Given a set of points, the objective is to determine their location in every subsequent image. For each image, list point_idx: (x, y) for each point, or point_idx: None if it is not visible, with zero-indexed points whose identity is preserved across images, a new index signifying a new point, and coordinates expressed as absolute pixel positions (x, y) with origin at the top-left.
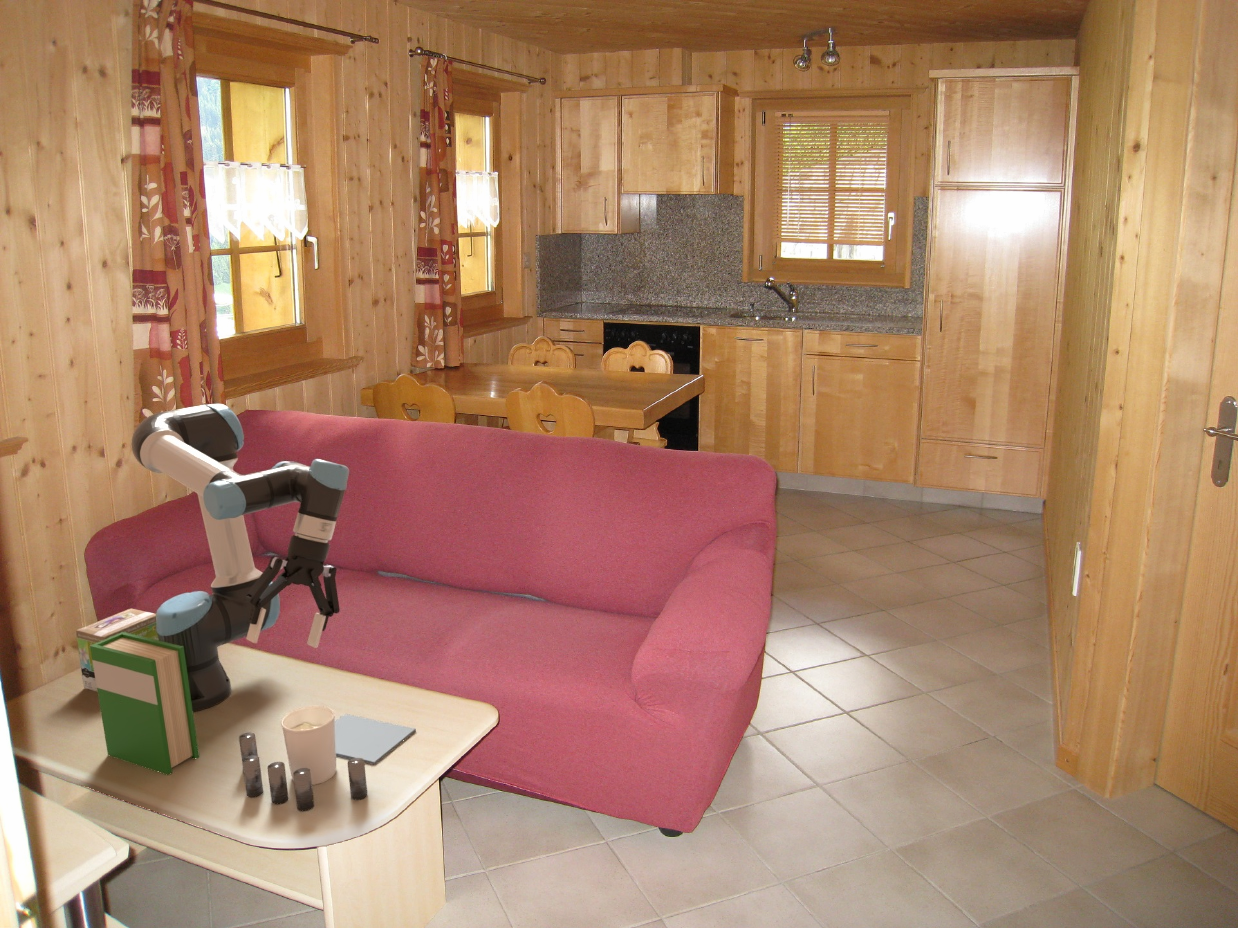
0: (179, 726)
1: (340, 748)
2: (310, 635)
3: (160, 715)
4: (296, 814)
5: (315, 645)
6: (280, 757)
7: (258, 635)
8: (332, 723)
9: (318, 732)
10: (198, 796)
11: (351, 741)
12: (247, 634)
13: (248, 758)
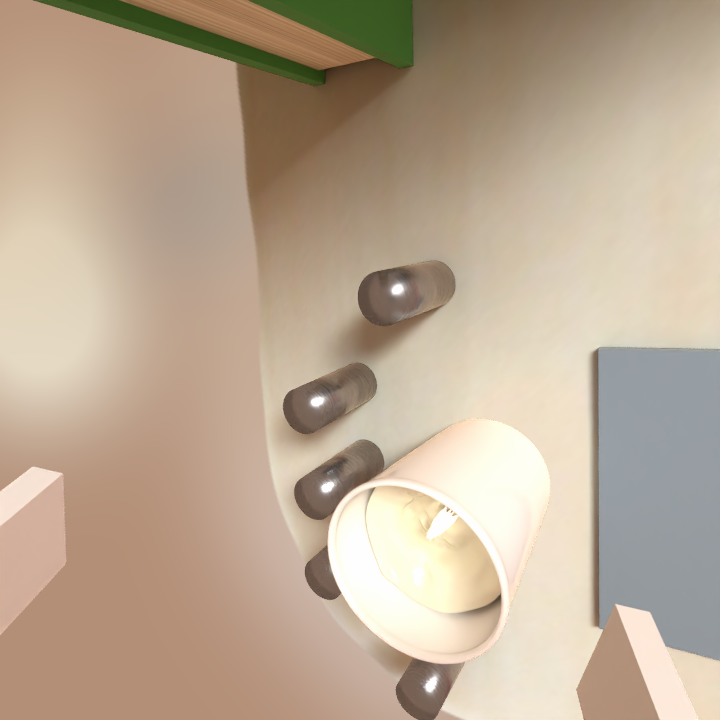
0: (291, 27)
1: (630, 492)
2: (637, 695)
3: (163, 37)
4: None
5: (585, 709)
6: (518, 321)
7: (20, 607)
8: (445, 650)
9: (386, 622)
10: (293, 260)
11: (693, 506)
12: (4, 490)
13: (303, 400)
